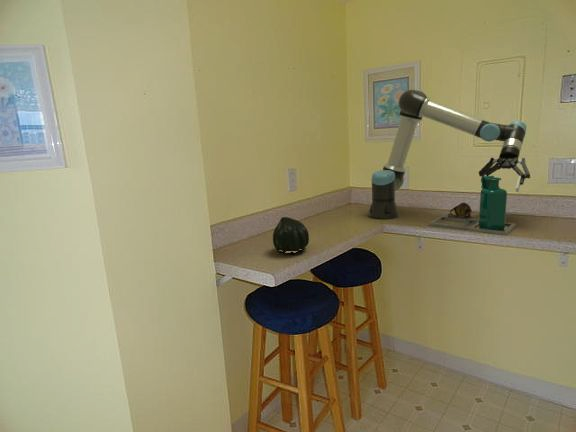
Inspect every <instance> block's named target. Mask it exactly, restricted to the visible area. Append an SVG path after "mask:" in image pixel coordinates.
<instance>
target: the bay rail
mask: <svg viewBox="0 0 576 432" xmlns="http://www.w3.org/2000/svg"><path fill="white" fill-rule="evenodd" d="M443 220H444V221H452V222H453V221H454V222H461V224H460V225H459V224H458V225H456V224H447V223H439V222H441V221H443ZM470 224H473V225H471V226H468V225H470ZM435 226H436V228H444V229H454V230H460V231H470V232H478V233H479V232H480V233H487V234H493V235H494V234H495V235H502V236H503V235H504V236H507V235H508V234H510V232H512V230H514V229H515V228H516V223H513V222H512V223H511V222H505V228H504V229H498V230H493V229H484V228H482V227H480V226H479V219H474V218H466V217H463V218H455V217H448V216H444V215H443V216H439V217H437V218H435V219H434V220H432V221H430V222H428V227H435Z"/></svg>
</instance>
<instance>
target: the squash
mask: <svg viewBox="0 0 576 432" xmlns="http://www.w3.org/2000/svg"><path fill="white" fill-rule="evenodd" d="M309 241H310V235H309V231H308V229H307V227H306V226H305V225H304V223H302V221H299V220H297V219H293V218H292V217H287V216H282V217H281V218H280V220H278V223H277V225H276V226H275V228H274V230H273V233H272V244H273V247H274V248H275V250H277V251H278V250H282V251H283V252H286V251H298V250H299V249H304V250H305V248H306V247H307V246H308V244H309ZM298 252H299V251H298Z"/></svg>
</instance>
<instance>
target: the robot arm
mask: <svg viewBox="0 0 576 432" xmlns="http://www.w3.org/2000/svg"><path fill="white" fill-rule="evenodd" d="M398 99H399V100H398V107H399V109H400V110H399V114H398V117H399V118H400V121H399V123H398V128H397V131H396V134H395V138H394V141H393V144H392V147H391V151H390V154H389V157H388V160H387V163H386V164H384V165H383V168H382V170H381V169H380V170H377V171H375V172H373V173H372V175H371V204H370V207H369V210H368V217H369V216H370V218H371V217H374V218H373V219H376V218H380V220H389V219H395V218H397V217H399V210H398V207H397V204H396V191H398V190H399V189H401V187H402V186H403V184H404V180H405V178H404V177H405V176H404V175H405V173H406V169H405V168H404V167H405V165H406V164H405V163H406V160H407V157H408V153H409V151H410V148H411V145H412V141H413V138H414V135H415V131H416V129H417V125H418V123H420V122H421V121H422V119H423V117H425V118H427V119H429V120H432V121H434V122H436V123H440V124H443V125H445V126H449V127H450V128H452V129H453V128H454V129H455V130H458V131H461V132H464V133H465V134H466V133H467V134H469V135H472V136H475V137H476V138H479V139H482V140H483V141H485V142H493V141H498V142H503V143H502V148H501V150H500V152H499V153H500V154H499V157H498V158H497V159H496V158H494V157H491V158H490V159H489V161H488V162H487V163H486V164H485V165H484V166H483V167H482V168H481V169H480V170H479V171H478V175H479V177H481V178H480V183H481V185H480V187H481V190H482V189H483V188H482V177H483V176H491V175H492V174H493V173H494V172H496V171H499V170H501V169H502V170H503V169H509V170H510V169H512V170H513V171H515V173H516V174H517V175H518V179H517V182H516V186H515V192H517V193H519V190H520V188H521V185H522V186H523V185H524V183H525V180H526V179H530V178H531V173H530V171H529V168H528V167H527V164H526V158H525V157H523V158H521V159H519V157H520V154H521V150H522V147H523V146H522V145H523V143H524V139H525V136H526V133H527V124H525V122H523V121H520V120H516V121H512V122H510V123H509V124H500V123H494V122H490V121H486V120H483V119H482V118H478V117H475V116H474V115H471V114H467V113H465V112H462V111H460V110H456V109H454V108H451V107H449V106H446V105H443V104H440V103H437V102H435V101H432V100H430V98H429V97H428V95H426V93H424V92H423V91H420V90H416V89H408V90H405V91H404V92H403V93H401V95H400V96H399V98H398ZM518 164H520V165H521V167H522V169H520V168H519V166H518ZM522 170H523V171H522Z"/></svg>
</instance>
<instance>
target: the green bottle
mask: <svg viewBox="0 0 576 432" xmlns="http://www.w3.org/2000/svg"><path fill="white" fill-rule="evenodd" d="M481 178H482V183H481V185H482V188H483V189H482V188H481V190H480V195H479V197H480V198H479V215H478V220H479V226H480V227H482V228H484V229H493V230H498V229H504V228H505V223H506V218H507V216H506V215H507V203H508V202H507V201H508V200H507V199H508V192H507V190H506V189H504V188H501V187H500V181H501V180H502V178H501V177H495V175H489V176H483V177H482V176H481Z"/></svg>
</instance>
